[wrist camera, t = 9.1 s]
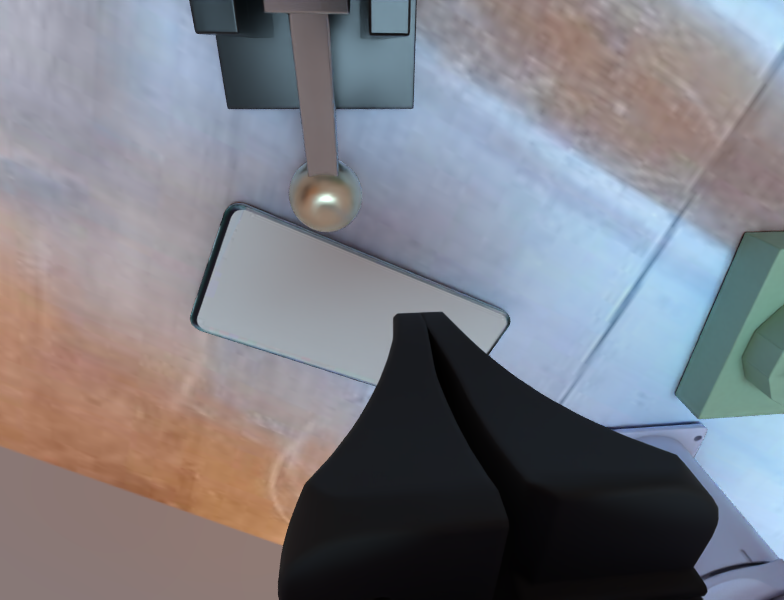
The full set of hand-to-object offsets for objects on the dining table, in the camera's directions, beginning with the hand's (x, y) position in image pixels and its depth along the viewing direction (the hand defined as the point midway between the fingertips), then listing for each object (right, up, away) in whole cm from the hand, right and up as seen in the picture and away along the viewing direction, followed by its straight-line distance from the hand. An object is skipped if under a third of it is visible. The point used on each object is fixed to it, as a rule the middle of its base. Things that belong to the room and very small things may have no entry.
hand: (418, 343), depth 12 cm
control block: (+21, 0, +14) cm, 25 cm away
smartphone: (-3, 0, +11) cm, 11 cm away
